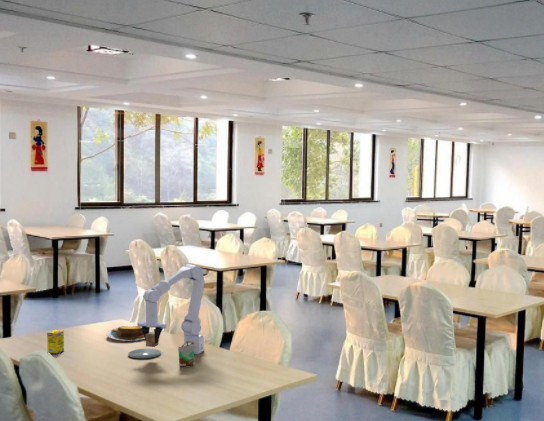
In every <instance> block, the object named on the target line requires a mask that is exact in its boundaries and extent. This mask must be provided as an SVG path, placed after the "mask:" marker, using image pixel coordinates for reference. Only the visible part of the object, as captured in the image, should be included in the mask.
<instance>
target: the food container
mask: <svg viewBox="0 0 544 421" xmlns="http://www.w3.org/2000/svg"><path fill="white" fill-rule="evenodd" d="M195 348H196V347H195V344H194V342H192V341H186V343H185V344H184V343H182V345H181V346H178V348H177V349H178V362H179V363H178V366H179V368H188V367H189V366H190V367H192V366H193V365H194V357H195V354H194V349H195Z"/></svg>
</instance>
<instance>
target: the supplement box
mask: <svg viewBox="0 0 544 421" xmlns="http://www.w3.org/2000/svg"><path fill="white" fill-rule="evenodd" d="M64 333H65V331H64V330H61V329H60V330H58V329H53V330H50V331H47V333H46V336H47V338H46V339H47V341H46V342H47V348H46V349H47V353H48V352H49V353H51V354H50V355H57V356H58V355H60V354H61V353H64V352H65V338H64V335H65V334H64Z"/></svg>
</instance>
